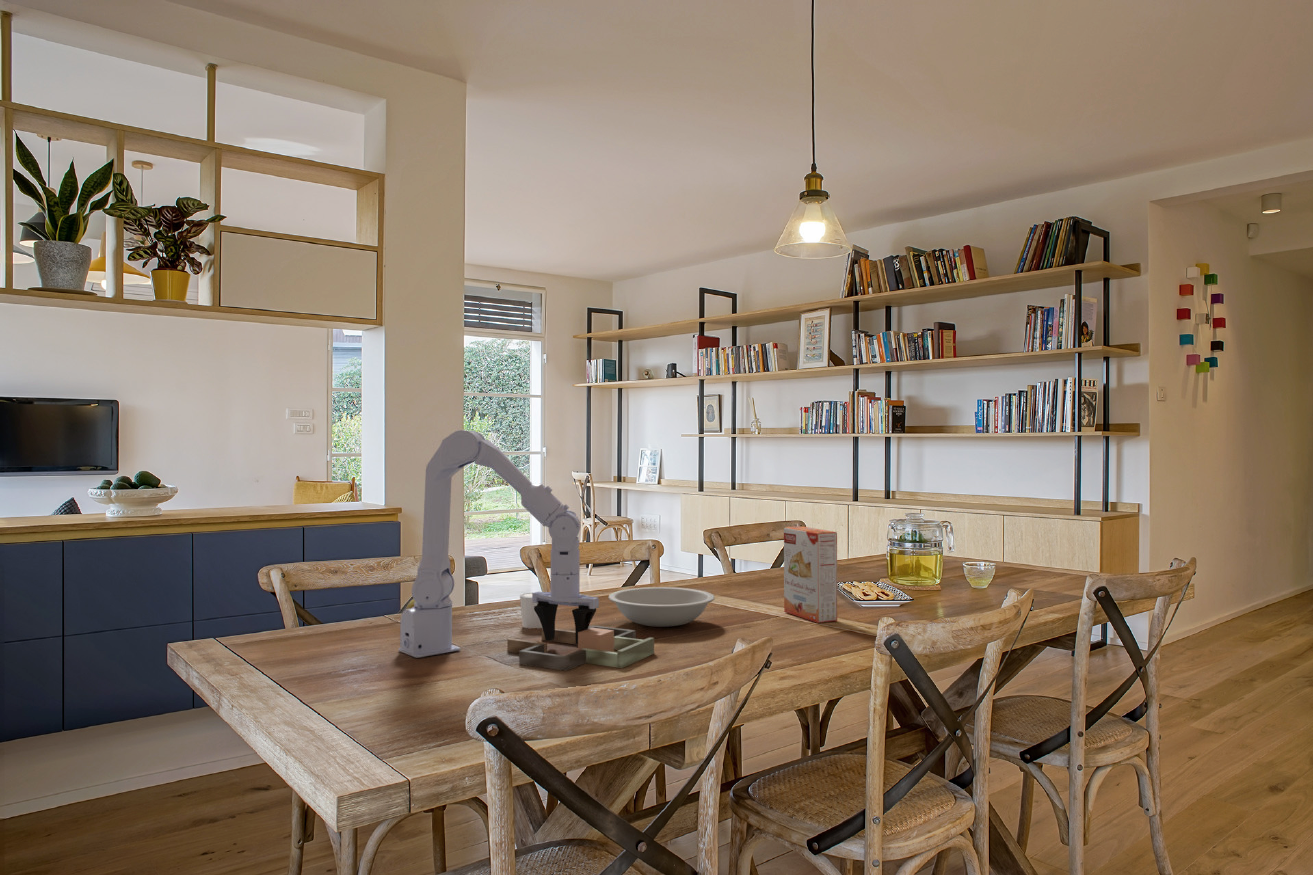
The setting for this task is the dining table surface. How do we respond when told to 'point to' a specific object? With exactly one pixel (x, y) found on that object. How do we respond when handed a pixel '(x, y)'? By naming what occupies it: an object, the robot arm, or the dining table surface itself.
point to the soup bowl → (661, 605)
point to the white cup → (529, 612)
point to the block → (596, 639)
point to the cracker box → (810, 573)
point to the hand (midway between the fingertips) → (564, 641)
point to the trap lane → (583, 650)
